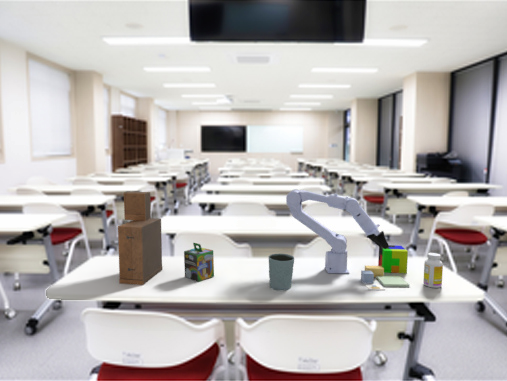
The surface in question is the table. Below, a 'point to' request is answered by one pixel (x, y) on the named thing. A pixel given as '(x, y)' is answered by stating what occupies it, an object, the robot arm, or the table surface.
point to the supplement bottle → (433, 270)
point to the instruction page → (375, 287)
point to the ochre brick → (375, 270)
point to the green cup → (280, 271)
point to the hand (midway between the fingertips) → (384, 246)
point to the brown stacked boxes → (139, 241)
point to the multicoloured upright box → (198, 263)
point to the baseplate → (392, 281)
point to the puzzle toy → (393, 259)
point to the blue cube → (367, 276)
